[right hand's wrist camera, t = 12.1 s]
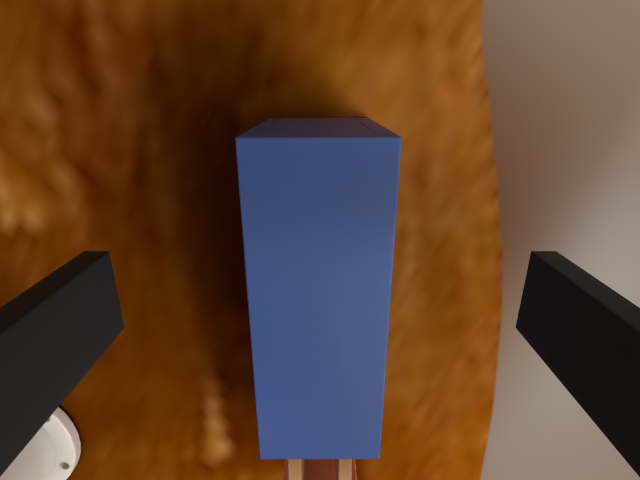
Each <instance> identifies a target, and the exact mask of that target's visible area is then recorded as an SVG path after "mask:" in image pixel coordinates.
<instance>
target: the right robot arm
mask: <svg viewBox="0 0 640 480" xmlns="http://www.w3.org/2000/svg"><path fill="white" fill-rule="evenodd" d="M123 328H124V324H123V319H122V314H121V309H120V304H119V299H118V294H117V289H116V285H115V280H114V275H113V270H112V265H111V260H110V255H109V251H84V252H82V253H81V254H79V255H78V256H76V257H75V258H73V259H72V260H71V261H69V262H68V263H66V264H65V265H63V266H62V267H60V268H59V269H57V270H56V271H54V272H53V273H51V274H50V275H48V276H47V277H45V278H44V279H42V280H41V281H40V282H38V283H37V284H35V285H34V286H32V287H31V288H29V289H28V290H26V291H25V292H23V293H22V294H20V295H19V296H17V297H16V298H14V299H13V300H12V301H10V302H9V303H7V304H6V305H4V306H3V307H1V308H0V477H1V475H2V474H3V473H4V472H5V471H6V469H7V468H8V467H9V466H10V465H11V463H12V462H13V461H14V460H15V459H16V457H17V456H18V455H19V454H20V453H21V451H22V450H23V449H24V448H25V447H26V445H27V444H28V443H29V442H30V441H31V439H32V438H33V437H34V436H35V434H36V433H37V432H38V431H39V430H40V428H41V427H42V426H43V425H44V424H45V422H46V421H47V420H48V419H49V418H50V416H51V415H52V414H53V413H54V412H55V410H56V409H57V408H58V407H59V406H60V404H61V403H62V402H63V401H64V400H65V398H66V397H67V396H68V395H69V393H70V392H71V391H72V390H73V389H74V387H75V386H76V385H77V384H78V383H79V381H80V380H81V379H82V378H83V377H84V375H85V374H86V373H87V372H88V371H89V369H90V368H91V367H92V366H93V365H94V363H95V362H96V361H97V360H98V359H99V357H100V356H101V355H102V354H103V352H104V351H105V350H106V349H107V348H108V346H109V345H110V344H111V343H112V342H113V340H114V339H115V338H116V337H117V336H118V334H119V333H120V332H121V331H122V330H123ZM516 328H517V330H518V331H519V332H520V333H521V334H522V336H523V337H524V338H525V339H526V340H527V342H528V343H529V344H530V345H531V346H532V348H533V349H534V350H535V351H536V352H537V354H538V355H539V356H540V357H541V359H542V360H543V361H544V362H545V363H546V365H547V366H548V367H549V368H550V369H551V371H552V372H553V373H554V374H555V375H556V377H557V378H558V379H559V380H560V381H561V383H562V384H563V385H564V386H565V387H566V389H567V390H568V391H569V392H570V393H571V395H572V396H573V397H574V398H575V400H576V401H577V402H578V403H579V404H580V406H581V407H582V408H583V409H584V410H585V412H586V413H587V414H588V415H589V416H590V418H591V419H592V420H593V421H594V422H595V424H596V425H597V426H598V427H599V428H600V430H601V431H602V432H603V433H604V434H605V436H606V437H607V438H608V439H609V441H610V442H611V443H612V444H613V445H614V447H615V448H616V449H617V450H618V451H619V453H620V454H621V455H622V456H623V457H624V459H625V460H626V461H627V462H628V463H629V465H630V466H631V467H632V468H633V469H634V471H635V472H636V473H637V474H638V475H639V477H640V308H639V307H637V306H636V305H634V304H633V303H631V302H630V301H628V300H627V299H626V298H624V297H623V296H621V295H620V294H618V293H617V292H615V291H614V290H612V289H611V288H609V287H608V286H606V285H605V284H603V283H602V282H600V281H599V280H598V279H596V278H595V277H593V276H592V275H590V274H589V273H587V272H586V271H584V270H583V269H581V268H580V267H578V266H577V265H575V264H574V263H572V262H571V261H569V260H568V259H566V258H565V257H564V256H562V255H561V254H559V253H558V252H556V251H532V252H531V255H530V260H529V265H528V270H527V275H526V280H525V285H524V289H523V294H522V299H521V304H520V309H519V314H518V319H517V324H516Z"/></svg>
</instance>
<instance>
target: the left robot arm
mask: <svg viewBox="0 0 640 480" xmlns="http://www.w3.org/2000/svg"><path fill="white" fill-rule="evenodd" d="M80 454H81V443H80V439H79V435H78V432H77V430H76V428H75V426H74V424H73V422H72V421H71V420H70V418H69V417H68V416H67V414H66V413H65V412H64V411H63V410H62V409H61V408H60V407H58V408H57V409H56V410H55V412H54V413H53V414H52V415H51V416H50V418H49V419H48V420H47V421H46V422H45V424H44V425H43V426H42V427H41V428H40V430H39V431H38V432H37V433H36V434H35V436H34V437H33V438H32V439H31V441H30V442H29V443H28V444H27V445H26V447H25V448H24V449H23V450H22V451H21V453H20V454H19V455H18V456H17V457H16V459H15V460H14V461H13V462H12V463H11V465H10V466H9V467H8V468H7V469H6V471H5V472H4V473H3V474H2V475H1V477H0V480H66V479H67V478H68V477H69V475H70V474H71V473H72V471H73V469H74V468H75V466H76V465H77V463H78V461H79V457H80Z"/></svg>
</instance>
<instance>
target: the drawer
mask: <svg viewBox="0 0 640 480" xmlns="http://www.w3.org/2000/svg"><path fill="white" fill-rule="evenodd" d="M283 480H357V477H356V466H355V459H285V469H284V479H283Z"/></svg>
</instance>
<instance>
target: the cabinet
mask: <svg viewBox="0 0 640 480" xmlns="http://www.w3.org/2000/svg"><path fill="white" fill-rule="evenodd" d="M401 139H402V138H401V137H400V136H398V135H397V134H395V133H393V132H392V131H390V130H388V129H386V128H385V127H383V126H381V125H379V124H378V123H376V122H374V121H372V120H371V119H370V118H269V119H267V120H266V121H264V122H262V123H261V124H259V125H257V126H255V127H253V128H252V129H250V130H248V131H246V132H244V133H242V134H241V135H239V136H237V137H236V138H235V143H236V156H237V169H238V182H239V195H240V208H241V221H242V234H243V247H244V260H245V272H246V285H247V298H248V311H249V324H250V337H251V350H252V363H253V376H254V389H255V402H256V415H257V427H258V440H259V453H260V459H379V458H380V445H381V430H382V416H383V401H384V387H385V372H386V357H387V343H388V328H389V314H390V299H391V285H392V270H393V255H394V241H395V226H396V212H397V197H398V183H399V168H400V153H401Z"/></svg>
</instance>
